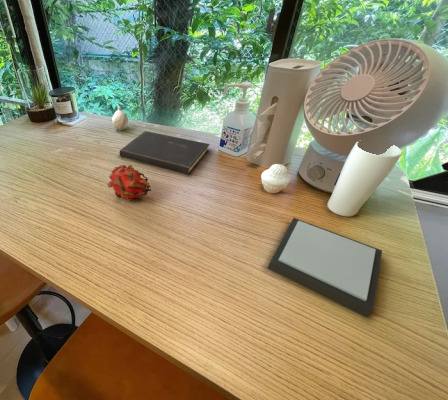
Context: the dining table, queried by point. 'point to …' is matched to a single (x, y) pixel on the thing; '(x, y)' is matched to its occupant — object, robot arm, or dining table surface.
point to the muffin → (275, 178)
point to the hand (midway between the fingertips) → (428, 175)
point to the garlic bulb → (120, 119)
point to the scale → (329, 265)
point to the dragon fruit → (128, 182)
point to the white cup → (361, 179)
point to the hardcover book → (165, 151)
